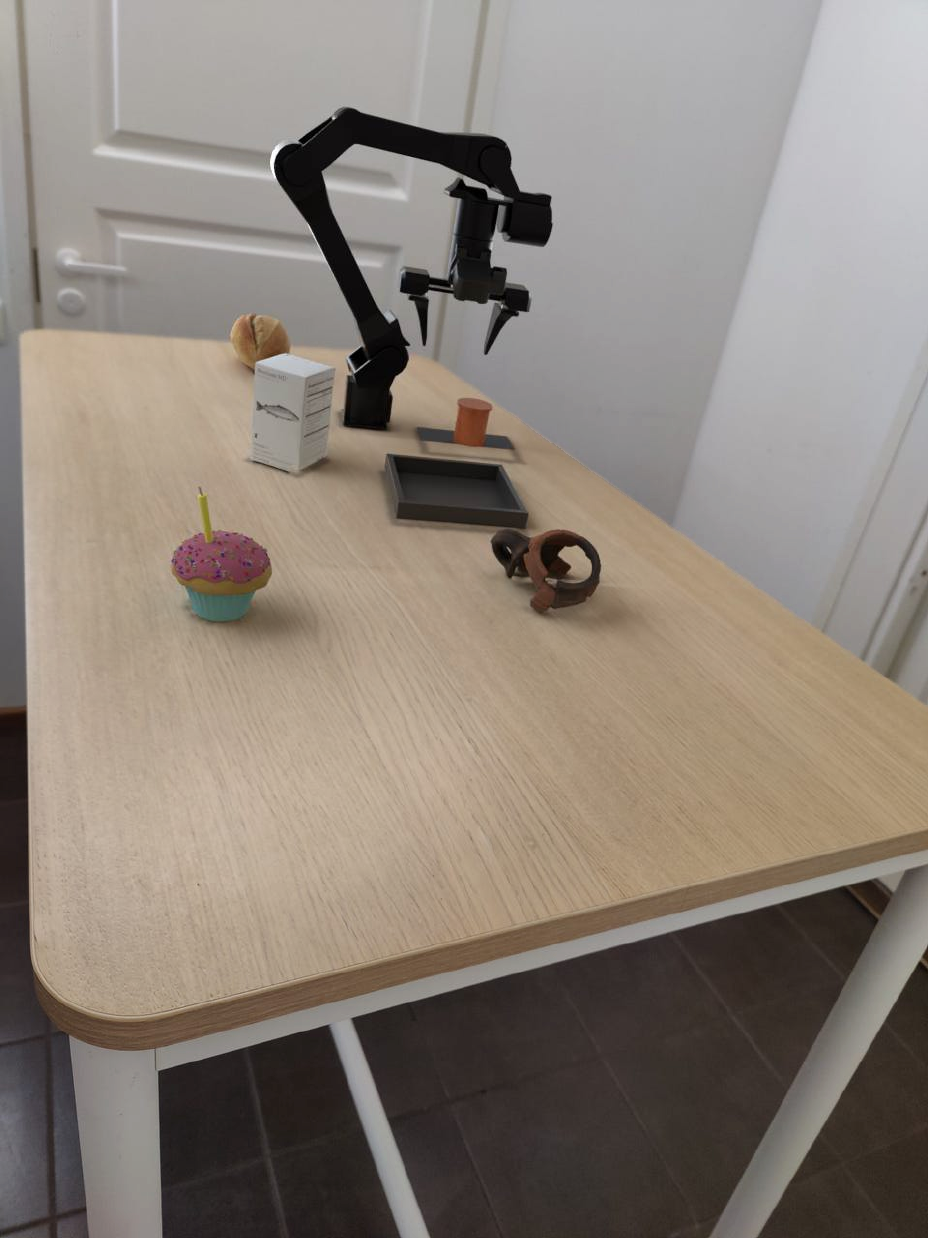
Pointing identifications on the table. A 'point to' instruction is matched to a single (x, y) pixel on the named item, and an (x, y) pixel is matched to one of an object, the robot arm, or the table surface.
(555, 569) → the broken pottery
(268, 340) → the bread roll
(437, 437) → the mat
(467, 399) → the orange cylinder
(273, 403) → the white packaging box
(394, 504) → the tray
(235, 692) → the table surface
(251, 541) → the cupcake
